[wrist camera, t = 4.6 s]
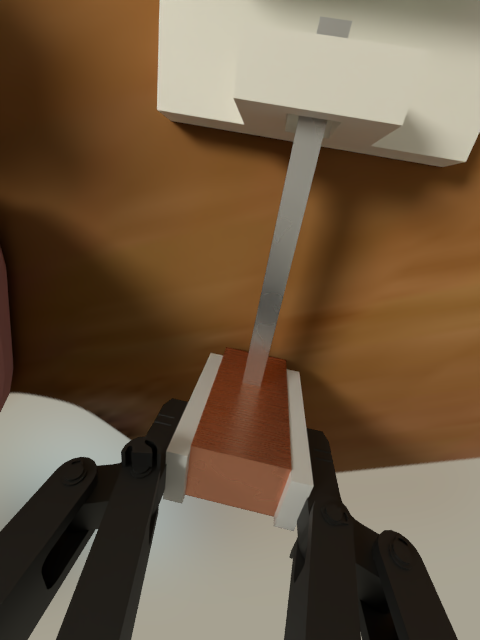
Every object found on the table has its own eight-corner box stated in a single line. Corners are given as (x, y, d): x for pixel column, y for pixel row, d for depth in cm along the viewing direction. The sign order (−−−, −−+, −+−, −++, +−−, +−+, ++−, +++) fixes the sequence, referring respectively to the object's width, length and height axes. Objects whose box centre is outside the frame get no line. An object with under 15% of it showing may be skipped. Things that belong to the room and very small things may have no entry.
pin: (367, 76, 10) (530, -158, 4) (275, 396, 16) (273, 516, 10) (274, 61, 10) (267, -184, 4) (220, 384, 17) (184, 494, 10)
